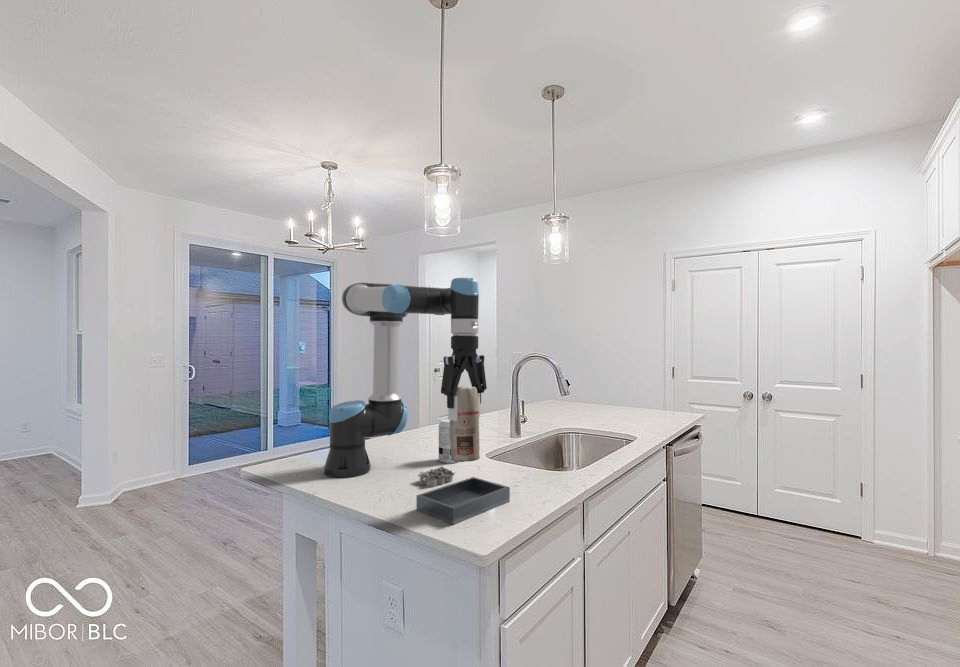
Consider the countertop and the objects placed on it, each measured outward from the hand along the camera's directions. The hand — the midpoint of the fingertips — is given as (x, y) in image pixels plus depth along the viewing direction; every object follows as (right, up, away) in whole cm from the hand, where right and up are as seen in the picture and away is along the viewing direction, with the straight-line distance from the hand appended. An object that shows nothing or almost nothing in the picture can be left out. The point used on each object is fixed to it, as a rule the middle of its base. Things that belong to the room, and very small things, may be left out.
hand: (464, 418), depth 127 cm
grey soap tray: (0, -24, 0) cm, 24 cm away
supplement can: (-7, -24, +46) cm, 52 cm away
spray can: (0, -11, 0) cm, 11 cm away
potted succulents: (-10, -24, +21) cm, 34 cm away
